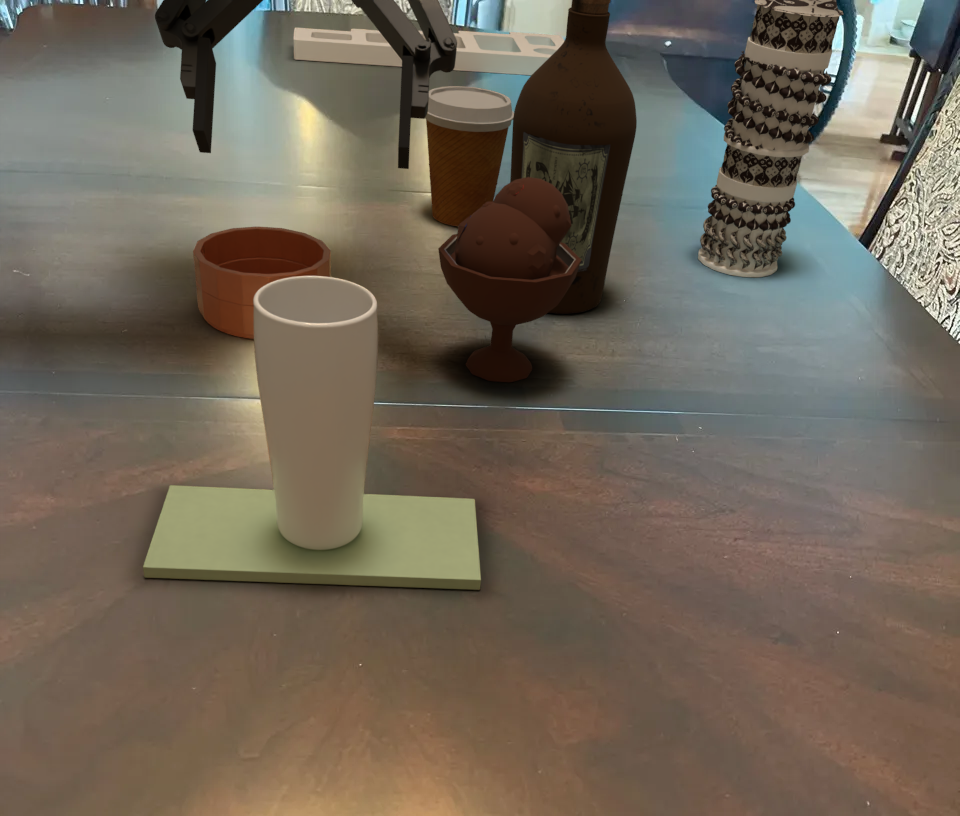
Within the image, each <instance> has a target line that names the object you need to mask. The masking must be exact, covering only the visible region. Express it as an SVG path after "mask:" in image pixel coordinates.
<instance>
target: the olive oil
mask: <svg viewBox="0 0 960 816" xmlns="http://www.w3.org/2000/svg"><path fill="white" fill-rule="evenodd" d="M610 4H611V0H571V5H570V7H569V8H568V10H567V11H568V12H567V20H566V29H565V30H566V31H565V39H564V40H565V41H564V43H563V44H562V45H561V46H560V48H559V49H558V50H557V51H556V52H555V53H554V54H553V55H552V56H551V57H550V58H549V59H547V60H546V61H545V62H544V63H543V64H542V65H541V66H540V67H539V68H538V69H537V70H536V71H535V72H534V73H533V74H532V75H529V77H528V79H527V80H526V81H525V83H524V85H523V87H522V88H521V90H520V93H519V96H518V97H517V101H516V104H515V107H514V110H513V112H514V116H513V120H512V131H511V132H512V133H511V155H510V157H511V158H510V179H509V181H510V182H509V183H511V182H512V181H514V180H516V179H521V178H526V177H532V178H539V179H542V180H544V181H546V182H548V183H550V184H552V185H553V186H554V187H556V188H557V189H558V190H559V191H560V192H561V193H562V195H563V197H564V199H565V201H566V203H567V204H568V209H569V214H570V220H571V225H572V226H571V227H570V229H569V230H568V232H567V234H566V235H565V237H564V238H563V240H562V241H561V242H562V243H565V244H566V245H567V246H568V247H569V248H570V249H571V250H572V251H573V252H574V253H575V254H576V255H577V256H578V257H579V258H580V259H581V263H580V266H579V268H578V271H577V274H576V277H575V279H574V281H573V282H572V284H571V286H570V287H569V289H568V290H567V292H566V293H565V295H564V296H563V298H562V299H561V301H560V302H559V304H558V305H557V306H556V307H555V308H553V309H552V310H551V311H550V312H548V313H549V314H558V315H559V314H560V315H561V314H562V315H569V314H570V315H571V314H579V313H584V312H588V311H591V310H592V309H595V308H596V307H597V306H598V305H600V303H601V301H602V297H603V293H604V288H605V282H606V277H607V272H608V267H609V261H610V256H611V251H612V247H613V241H614V236H615V231H616V227H617V222H618V217H619V212H620V209H621V208H620V207H621V202H622V198H623V193H624V189H625V184H626V179H627V175H628V171H629V166H630V161H631V157H632V152H633V148H634V144H635V139H636V133H637V126H638V125H637V119H638V118H637V110H636V101H635V98H634V94H633V92H632V90H631V87H630V85H629V83H628V82H627V81H626V79H625V77H624V76H623V74H622V72H621V71H620V69H619V67H618V66H617V64H616V63H615V61H614V60H613V57H612V56H611V54H610V53H609V50H608V48H607V43H606V42H607V35H608V30H609V24H610V17H611V13H610V12H609V7H610ZM548 313H547V314H548Z"/></svg>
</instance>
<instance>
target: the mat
mask: <svg viewBox="0 0 960 816" xmlns="http://www.w3.org/2000/svg"><path fill="white" fill-rule="evenodd" d="M477 524H478V522H477V510H476V500H475V498H468V497H467V498H463V497H442V496H441V497H440V496H420V495H419V496H418V495H397V494H378V493H377V494H375V493H364V499H363V524H362V528H361V531H360V532H359V534H358V535H357V537H356V538H355V539H354V540H352V541H351V542H350V543H348V544H346V545H344V546H341V547H338V548H334V549H329V550H311V549H306V548H302V547H299V546H296V545H294V544H292V543H290V542H289V541H288V540H286V539H285V538H284V537H283V536H282V535H281V533H280V531H279V529H278V526H277V522H276V505H275V495H274V489H263V488H244V487H243V488H240V487H218V486H217V487H216V486H197V485H195V486H194V485H173V484H170V485H169V486H168V490H167V493H166V496H165V499H164V502H163V505H162V509H161V511H160V514H159V517H158V520H157V523H156V526H155V529H154V532H153V535H152V538H151V542H150V544H149V546H148V547H149V548H148V550H147V554H146V557H145V559H144V562H143V565H142V571H143V577H144V578H148V579H173V580H174V579H175V580H178V579H179V580H200V581H201V580H202V581H203V580H204V581H228V582H256V583H257V582H259V583H283V584H284V583H285V584H307V585H308V584H309V585H310V584H311V585H312V584H313V585H334V586H335V585H336V586H337V585H339V586H365V587H390V588H391V587H392V588H420V589H422V588H424V589H444V590H473V591H480V590H481V584H482V575H481V562H480V549H479V537H478V535H479V534H478V525H477Z"/></svg>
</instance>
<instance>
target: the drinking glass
mask: <svg viewBox="0 0 960 816" xmlns="http://www.w3.org/2000/svg"><path fill="white" fill-rule="evenodd" d="M378 318H379V317H378V301H377V298H376V297H375V295H374V294H373V293H372V292H371V290H369V289H368V288H366V287H364V286H362V285H360V284H358V283H356V282H353V281H350V280H347V279H343V278H338V277H333V276H331V277H325V276H296V277H289V278H284V279H279V280H276V281H273V282H270V283H268V284H266V285H264V286H263V287H261V288H260V289H259V290H258V291H257V292H256V294H255V296H254V299H253V325H254V339H253V349H254V360H255V372H256V380H257V387H258V394H259V401H260V408H261V414H262V419H263V420H262V421H263V426H264V433H265V439H266V446H267V454H268V459H269V467H270V473H271V481H272V487H273V488H272V489H273V490H274V495H275V505H276V522H277V526H278V529H279V531H280V533H281V535H282V536H283V537H284V538H285V539H286V540H288V541H289V542H290V543H292V544H294V545H296V546H299V547H302V548H306V549H311V550H329V549H334V548H338V547H341V546H344V545H346V544H348V543H350V542H351V541H352V540H354V539H355V538H356V537H357V535H358V534H359V532H360V531H361V528H362V524H363V499H364V494H365V488H366V478H367V468H368V461H369V460H368V459H369V449H370V442H371V441H370V440H371V432H372V424H373V423H372V422H373V415H374V407H375V399H376V398H375V397H376V389H377V377H378V363H379V362H378V361H379V319H378Z"/></svg>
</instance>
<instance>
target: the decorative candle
mask: <svg viewBox="0 0 960 816" xmlns="http://www.w3.org/2000/svg"><path fill="white" fill-rule="evenodd" d="M754 4H755V5H756V12H755V15H754V18H753V23H752V30H751V33H750V35H749V36H748V37H747V41H746V44H745V45H746V46H745V51H744V50H741V54H740V56H739V57H738V59H737V60H735V62H734V71H735V73H736V74H737V75H738V76H739V78H736V79H735V80H734V81H733V84H732V85H731V86H730V91H731V93H732V94H731V95H732V97H731V100H729V101H728V102H727V108H728V109H727V113H728V114H729V115H730V116H731V117H732V118H729V119H728V120H727V122H726V123H725V124H724V126H723V131H724V132H723V133H724V134H723V142H725V143H726V146H725V150H724V155H723V161H722V163H721V166H720V167H719V168H718V173H717V178H716V184H715V186H713V187H711V189H710V196H711V198H712V199H713V200H712V201H711V202H709V203H708V204H707V213H708V214H709V215H710V216H708V217H707V218H705V220H704V221H703V225H702V226H703V231H704V233H702V234H701V236H700V238H699V243H700V246H701V248H699V250H698V254H697V260H698V261H699V262H700V263H702V265H704V266H705V267H707V268H709V269H711V270H713V271H715V272H719V273H721V274H726V275H729V276H734V277H742V278H762V277H767V276H771V275H773V274H774V273H776V272H777V270H778V260H779V258H780V257H781V256H783V251H782V248H783V247H782V246H783V243H785V242H786V241H787V236H786V234H787V231H786V230H785V228H786V227H787V226H788V225H789V224H790V223H791V221H792V218H791V215H790V212H791V211H792V209H793V210H794V208H795V207H796V201H795V197H794V196H795V192H796V189H797V186H798V179H797V177H798V174H799V172H800V167H801V163H802V159H803V156H804V155H805V156H806V154H808V153H809V152H810V145H809V143H812V142H813V141H814V140H815V136H814V134H813V133H812V132H811V130H810V128H811V127H814V126H816V125H818V123H819V121H820V118H819V117H818V116H817V115H816V112H815V111H814V109H815V107H816V106H819V105H820V104H823V103H824V102H825V103H826V101H827V98H828V97H827V94H825V93H824V92H823V90H821V89H823V88H824V87H825V86H828V85H829V84H831V82H832V76H831V75H830V74H829V72H828V70H826V69H828V68H829V66H830V62H831V57H832V54H833V49H832V46H833V41H834V38H835V35H836V32H837V26H838V23H839V21H840V17H841V16H844V15H845V14H844V12H843V10H840V9H839V8H838V2H837V0H754ZM825 70H826V71H825ZM824 71H825V72H824Z"/></svg>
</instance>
